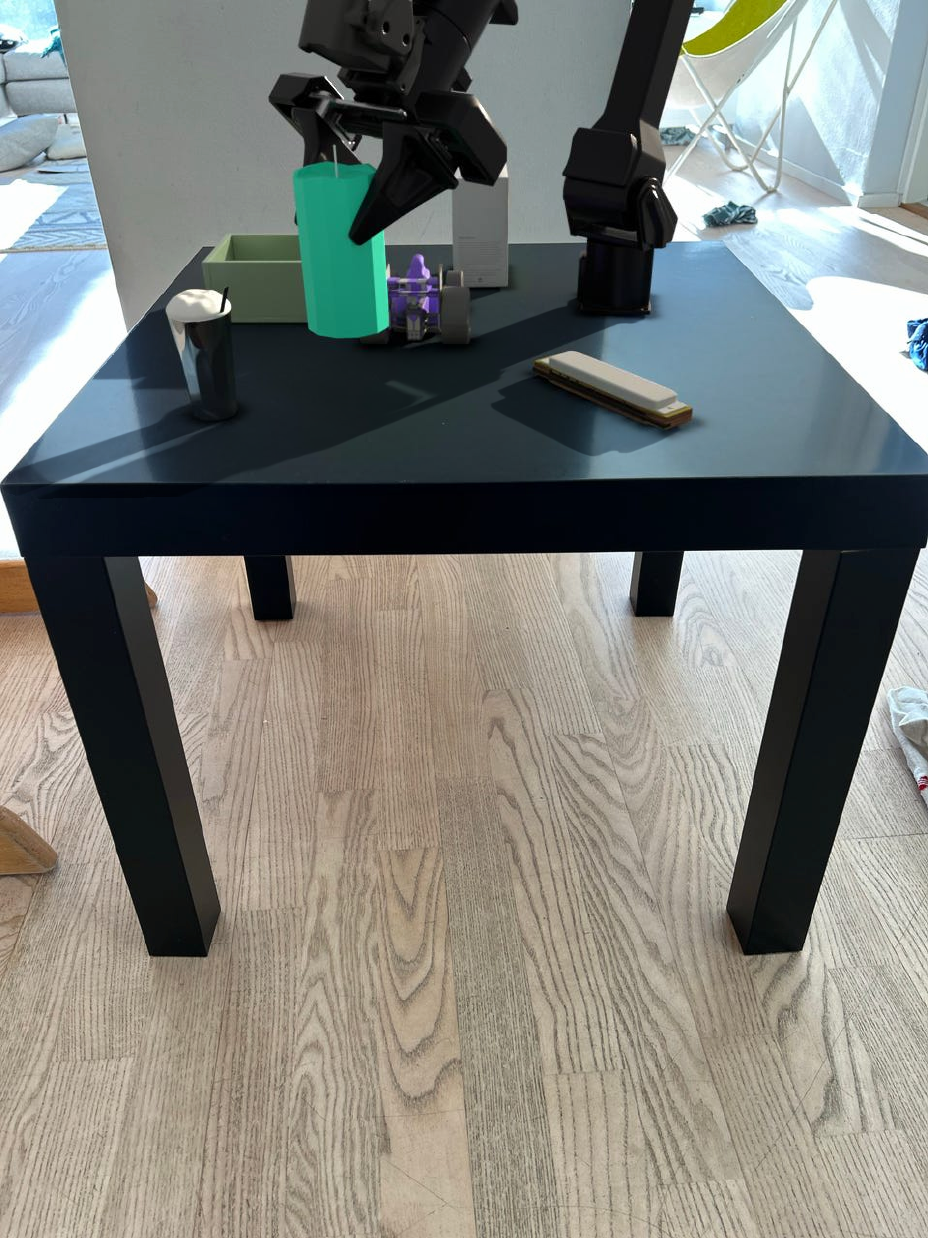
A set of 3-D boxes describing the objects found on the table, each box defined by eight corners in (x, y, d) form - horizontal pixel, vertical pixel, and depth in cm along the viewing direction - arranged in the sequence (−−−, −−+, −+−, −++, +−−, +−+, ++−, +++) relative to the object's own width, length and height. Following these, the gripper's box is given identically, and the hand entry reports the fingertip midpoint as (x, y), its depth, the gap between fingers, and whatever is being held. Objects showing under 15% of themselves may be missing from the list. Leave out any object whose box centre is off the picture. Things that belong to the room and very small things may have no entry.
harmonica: (531, 375, 82) (532, 351, 81) (559, 366, 83) (560, 343, 82) (662, 434, 72) (665, 408, 71) (691, 423, 74) (695, 397, 73)
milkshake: (225, 432, 73) (203, 295, 67) (172, 417, 76) (147, 283, 70) (266, 410, 76) (248, 278, 71) (214, 396, 79) (193, 267, 73)
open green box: (333, 289, 101) (329, 233, 98) (319, 322, 93) (313, 262, 90) (234, 289, 102) (226, 233, 99) (210, 322, 93) (201, 262, 90)
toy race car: (474, 298, 99) (473, 229, 95) (468, 352, 86) (468, 275, 83) (377, 297, 99) (373, 229, 95) (358, 351, 87) (353, 275, 83)
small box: (507, 288, 101) (509, 177, 95) (452, 288, 101) (450, 177, 95) (506, 266, 108) (507, 160, 102) (454, 266, 108) (452, 161, 102)
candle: (377, 340, 70) (365, 155, 63) (296, 335, 71) (275, 152, 64) (399, 312, 75) (390, 137, 68) (323, 308, 76) (306, 135, 69)
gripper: (272, -65, 67) (162, 139, 67) (476, -65, 56) (345, 178, 56) (368, 57, 76) (271, 237, 76) (559, 77, 66) (446, 286, 66)
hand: (325, 234), depth 68 cm, fingers closed on candle, 5 cm apart
